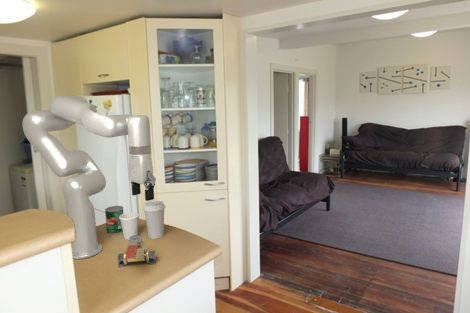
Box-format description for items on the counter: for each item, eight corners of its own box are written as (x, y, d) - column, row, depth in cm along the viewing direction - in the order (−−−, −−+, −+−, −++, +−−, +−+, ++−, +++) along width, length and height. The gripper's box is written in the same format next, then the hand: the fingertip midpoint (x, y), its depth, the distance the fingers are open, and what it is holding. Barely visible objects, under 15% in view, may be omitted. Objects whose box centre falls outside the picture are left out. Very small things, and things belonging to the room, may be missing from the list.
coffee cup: (154, 242, 143) (152, 208, 141) (140, 237, 149) (138, 204, 146) (171, 234, 151) (169, 202, 148) (157, 230, 156) (155, 199, 154)
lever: (123, 259, 110) (123, 253, 110) (130, 240, 125) (130, 235, 125) (137, 257, 111) (137, 252, 111) (142, 239, 126) (142, 234, 126)
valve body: (117, 268, 121) (115, 247, 119) (120, 261, 127) (118, 240, 125) (154, 265, 123) (153, 244, 121) (155, 257, 129) (154, 237, 127)
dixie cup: (120, 241, 144) (118, 219, 143) (121, 234, 152) (120, 213, 151) (140, 239, 146) (138, 217, 144) (141, 232, 154) (139, 211, 152)
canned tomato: (104, 234, 153) (102, 211, 151) (110, 228, 161) (108, 205, 159) (121, 234, 153) (119, 210, 151) (127, 227, 161) (125, 205, 159)
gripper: (119, 149, 123) (122, 194, 125) (142, 154, 110) (145, 204, 113) (138, 147, 128) (140, 190, 131) (162, 151, 115) (164, 200, 118)
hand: (142, 197), depth 122 cm, fingers open, 9 cm apart
